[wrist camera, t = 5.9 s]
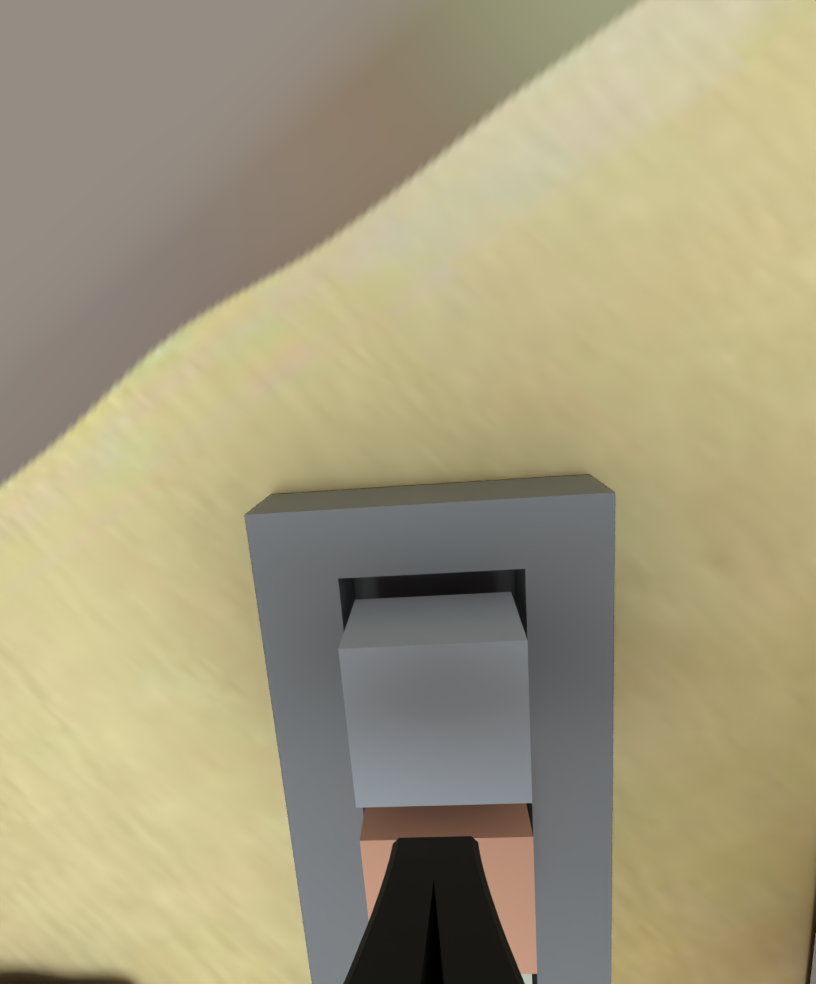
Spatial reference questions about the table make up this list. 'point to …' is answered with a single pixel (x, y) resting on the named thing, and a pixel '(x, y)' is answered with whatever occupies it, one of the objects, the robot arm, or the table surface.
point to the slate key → (437, 701)
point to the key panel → (551, 668)
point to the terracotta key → (500, 849)
